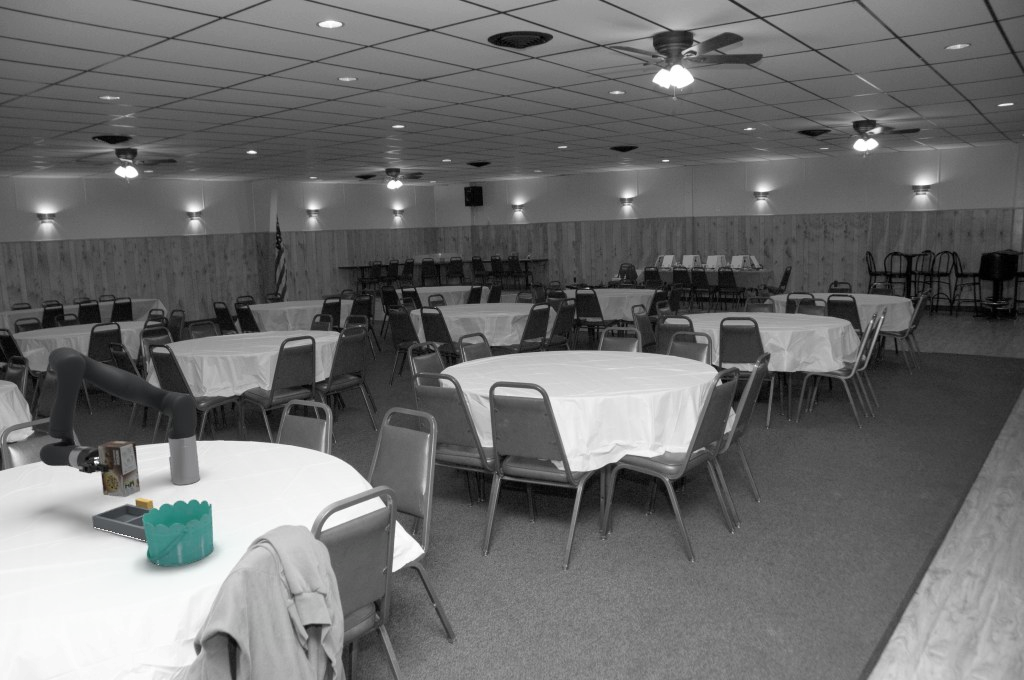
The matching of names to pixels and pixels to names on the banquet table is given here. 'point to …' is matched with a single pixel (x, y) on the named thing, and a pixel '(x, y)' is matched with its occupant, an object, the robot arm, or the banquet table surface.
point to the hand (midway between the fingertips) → (118, 465)
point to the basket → (179, 532)
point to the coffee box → (119, 468)
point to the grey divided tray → (125, 519)
